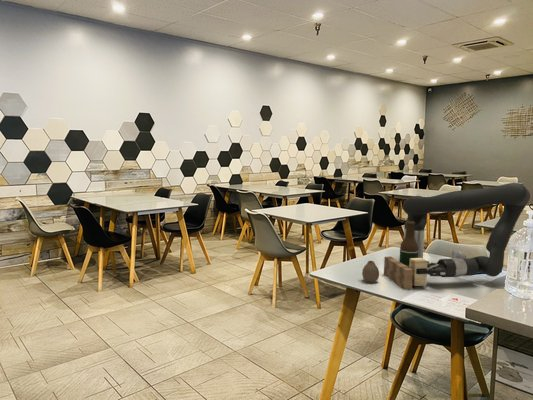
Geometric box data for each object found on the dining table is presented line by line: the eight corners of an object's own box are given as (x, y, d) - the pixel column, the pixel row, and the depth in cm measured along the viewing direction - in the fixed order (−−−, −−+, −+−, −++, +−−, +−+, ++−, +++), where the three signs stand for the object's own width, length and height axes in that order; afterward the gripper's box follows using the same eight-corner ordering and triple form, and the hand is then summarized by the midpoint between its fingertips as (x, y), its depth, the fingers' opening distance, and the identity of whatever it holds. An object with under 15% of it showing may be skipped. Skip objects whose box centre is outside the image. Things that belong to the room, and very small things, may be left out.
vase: (375, 285, 168) (376, 264, 167) (359, 282, 171) (360, 262, 170) (380, 280, 174) (381, 260, 172) (365, 277, 177) (365, 258, 176)
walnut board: (383, 273, 183) (384, 256, 182) (390, 273, 183) (390, 256, 182) (404, 289, 163) (405, 270, 162) (411, 289, 163) (412, 269, 162)
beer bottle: (417, 272, 185) (420, 220, 182) (416, 277, 178) (419, 223, 175) (399, 270, 188) (402, 219, 185) (397, 275, 181) (400, 222, 178)
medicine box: (465, 274, 183) (466, 255, 182) (454, 273, 184) (456, 254, 183) (460, 268, 191) (462, 251, 190) (450, 268, 192) (451, 250, 191)
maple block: (408, 281, 168) (409, 258, 167) (419, 281, 169) (421, 257, 168) (414, 285, 163) (415, 261, 162) (426, 285, 164) (427, 261, 163)
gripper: (442, 254, 174) (405, 255, 172) (463, 263, 160) (422, 265, 158) (441, 271, 175) (404, 272, 173) (461, 282, 161) (421, 284, 159)
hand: (413, 269), depth 165 cm, fingers closed on maple block, 5 cm apart
